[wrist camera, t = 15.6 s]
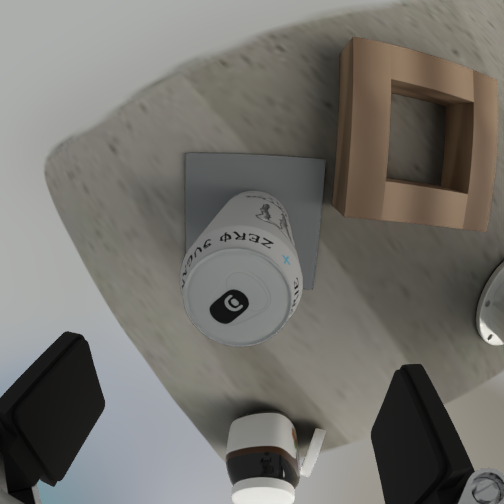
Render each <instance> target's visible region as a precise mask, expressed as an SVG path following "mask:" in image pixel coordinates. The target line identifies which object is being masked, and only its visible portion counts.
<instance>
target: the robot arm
mask: <svg viewBox="0 0 504 504" xmlns="http://www.w3.org/2000/svg"><path fill="white" fill-rule="evenodd" d="M476 326H477V330H478V333H479V334H480V336H481V337H482V338H483V339H484V341H485V342H487V343H489V344H490V345H502V344H504V261H503V262H502V263H501V264H500V265H499V266H498V267H497V269H496V270H495V271H494V273H493V274H492V275H491V277H490V278H489V280H488V282H487V283H486V285H485V287H484V289H483V292H482V294H481V297H480V300H479V303H478V307H477V312H476ZM104 407H105V400H104V397H103V393H102V390H101V387H100V384H99V380H98V377H97V374H96V370H95V367H94V363H93V359H92V355H91V351H90V348H89V344H88V342H87V341H86V340H85V339H84V337H83V336H82V335H81V334H77V333H72V332H64V333H63V334H62V335H61V336H60V337H59V338H58V339H57V340H56V341H55V342H54V343H53V344H52V345H51V346H50V347H49V348H48V349H47V350H46V351H45V352H44V353H43V354H42V355H41V356H40V357H39V358H38V359H37V360H36V361H35V362H34V363H33V364H32V365H31V366H30V367H29V368H28V369H27V370H26V371H25V372H24V373H23V374H22V375H21V376H20V377H19V378H18V379H17V380H16V381H15V383H14V384H13V385H12V386H11V387H10V388H9V389H8V390H7V391H6V392H5V393H4V394H3V396H2V397H1V398H0V504H41V500H40V496H39V492H38V487H37V482H38V480H39V479H40V480H41V481H43V482H45V483H47V484H49V485H51V486H53V487H54V486H55V485H56V483H57V481H61V480H62V479H63V477H64V476H65V474H66V472H67V471H68V469H69V467H70V466H71V464H72V462H73V460H74V459H75V457H76V455H77V453H78V452H79V450H80V448H81V447H82V445H83V443H84V442H85V440H86V438H87V437H88V435H89V433H90V431H91V430H92V428H93V427H94V425H95V423H96V422H97V420H98V418H99V417H100V415H101V414H102V412H103V410H104ZM371 440H372V444H373V448H374V452H375V457H376V462H377V466H378V471H379V475H380V480H381V484H382V489H383V495H384V500H385V504H504V475H503V474H502V473H501V472H500V471H498V470H496V469H492V468H482V469H480V470H477V471H474V468H473V466H472V464H471V462H470V459H469V457H468V455H467V453H466V450H465V448H464V446H463V444H462V442H461V440H460V437H459V435H458V433H457V431H456V429H455V427H454V425H453V423H452V421H451V419H450V417H449V415H448V413H447V411H446V409H445V407H444V405H443V403H442V401H441V399H440V397H439V396H438V394H437V392H436V390H435V388H434V386H433V384H432V382H431V380H430V379H429V377H428V375H427V373H426V371H425V369H424V368H423V366H422V365H421V364H408V365H402V366H401V368H400V370H396V371H395V373H394V375H393V378H392V381H391V383H390V386H389V389H388V391H387V394H386V396H385V399H384V401H383V404H382V406H381V409H380V411H379V414H378V416H377V418H376V421H375V423H374V425H373V427H372V431H371Z"/></svg>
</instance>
